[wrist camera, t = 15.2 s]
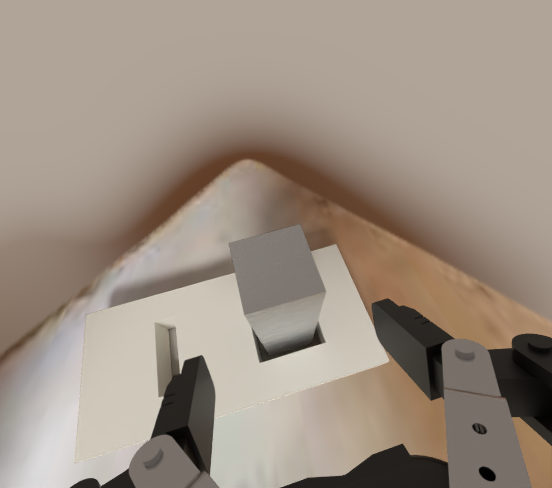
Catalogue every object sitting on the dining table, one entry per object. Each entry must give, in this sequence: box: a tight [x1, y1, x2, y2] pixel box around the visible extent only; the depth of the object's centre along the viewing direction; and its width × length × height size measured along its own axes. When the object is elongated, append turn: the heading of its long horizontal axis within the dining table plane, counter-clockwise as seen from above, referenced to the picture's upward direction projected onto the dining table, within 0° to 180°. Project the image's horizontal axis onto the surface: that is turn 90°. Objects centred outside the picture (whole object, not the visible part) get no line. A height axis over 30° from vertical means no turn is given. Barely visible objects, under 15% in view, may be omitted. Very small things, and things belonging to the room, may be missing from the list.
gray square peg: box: [229, 224, 326, 356], centre depth 20 cm, size 4×4×14 cm
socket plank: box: [75, 244, 390, 463], centre depth 24 cm, size 24×11×3 cm, turn 106°
